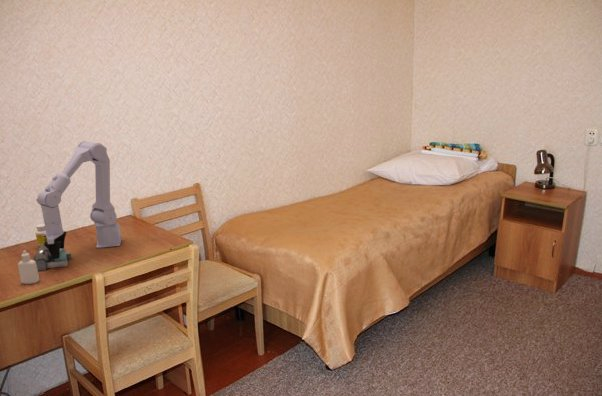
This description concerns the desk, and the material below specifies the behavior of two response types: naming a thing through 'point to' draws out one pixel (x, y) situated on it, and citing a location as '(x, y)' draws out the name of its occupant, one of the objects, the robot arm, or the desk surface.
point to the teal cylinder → (61, 255)
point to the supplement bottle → (40, 235)
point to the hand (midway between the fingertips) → (58, 254)
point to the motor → (48, 259)
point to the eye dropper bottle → (28, 269)
